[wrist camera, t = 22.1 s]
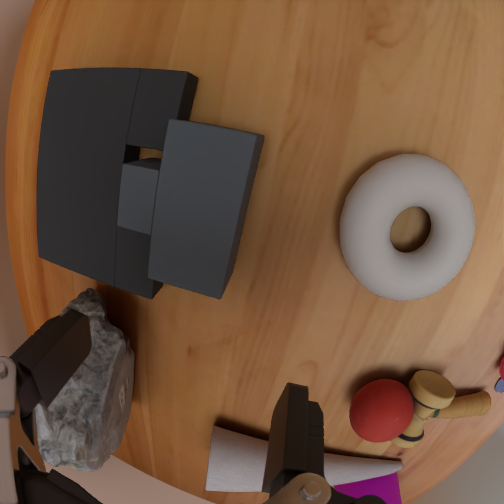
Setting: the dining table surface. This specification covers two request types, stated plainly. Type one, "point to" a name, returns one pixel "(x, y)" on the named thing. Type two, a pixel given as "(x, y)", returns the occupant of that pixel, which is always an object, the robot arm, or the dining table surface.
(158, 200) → the grey pad
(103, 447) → the decorative rock
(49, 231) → the black pad
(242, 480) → the grey hollow cone
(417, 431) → the kendama
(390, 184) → the donut
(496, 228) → the dining table surface
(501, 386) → the toy pieces
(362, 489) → the tape dispenser
